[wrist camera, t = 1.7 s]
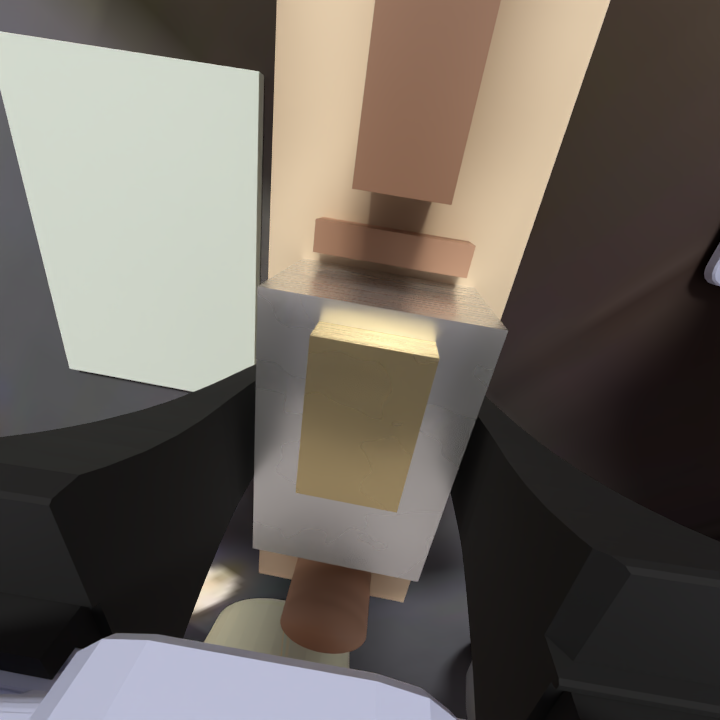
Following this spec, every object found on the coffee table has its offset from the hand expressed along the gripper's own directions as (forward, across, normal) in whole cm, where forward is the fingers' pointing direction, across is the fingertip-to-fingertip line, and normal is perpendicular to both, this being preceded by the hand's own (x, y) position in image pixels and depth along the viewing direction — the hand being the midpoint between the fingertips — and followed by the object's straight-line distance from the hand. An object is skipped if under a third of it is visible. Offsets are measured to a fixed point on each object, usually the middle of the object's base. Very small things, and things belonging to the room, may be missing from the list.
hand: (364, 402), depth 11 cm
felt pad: (+3, +8, -4) cm, 9 cm away
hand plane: (+3, 0, 0) cm, 3 cm away
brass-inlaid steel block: (+1, 0, 0) cm, 1 cm away
